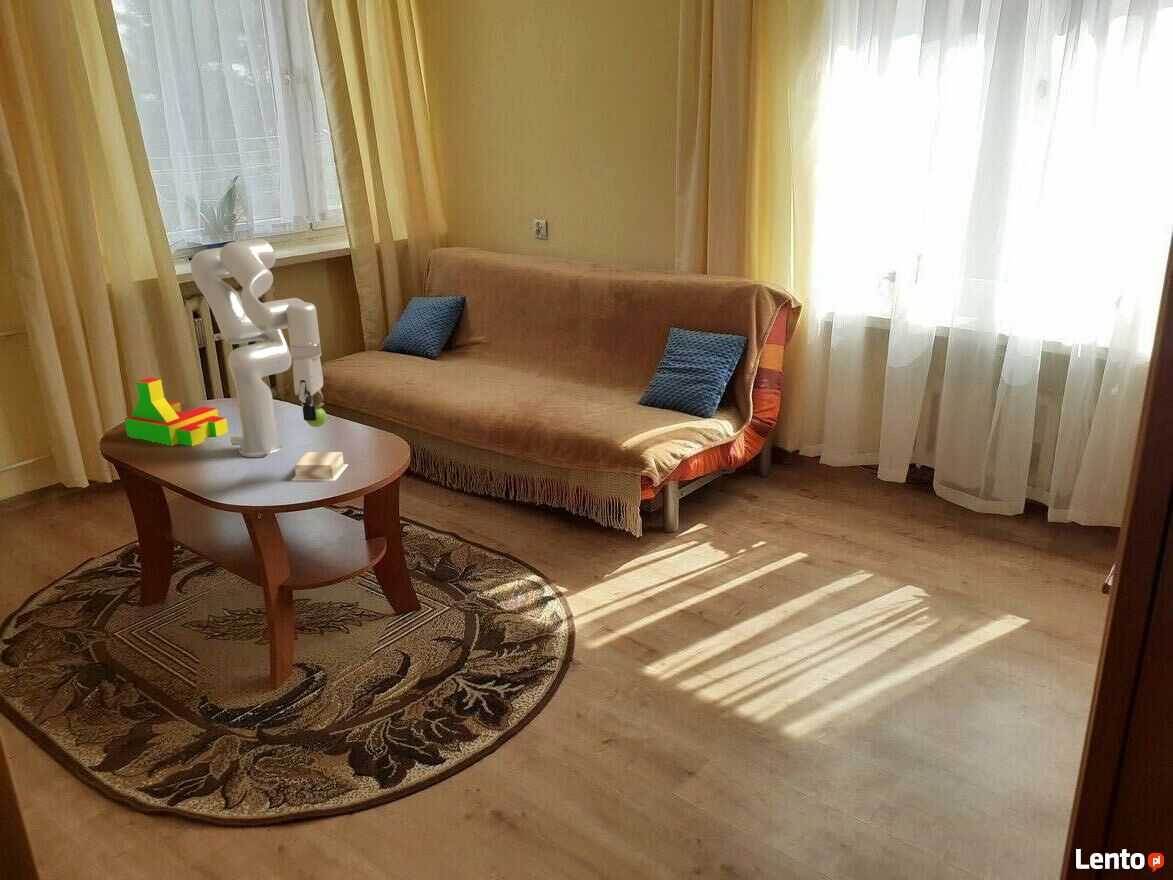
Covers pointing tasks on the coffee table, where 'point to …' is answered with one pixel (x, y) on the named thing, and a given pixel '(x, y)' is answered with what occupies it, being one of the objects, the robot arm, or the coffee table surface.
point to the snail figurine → (318, 410)
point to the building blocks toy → (170, 418)
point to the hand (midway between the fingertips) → (314, 416)
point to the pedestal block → (319, 465)
